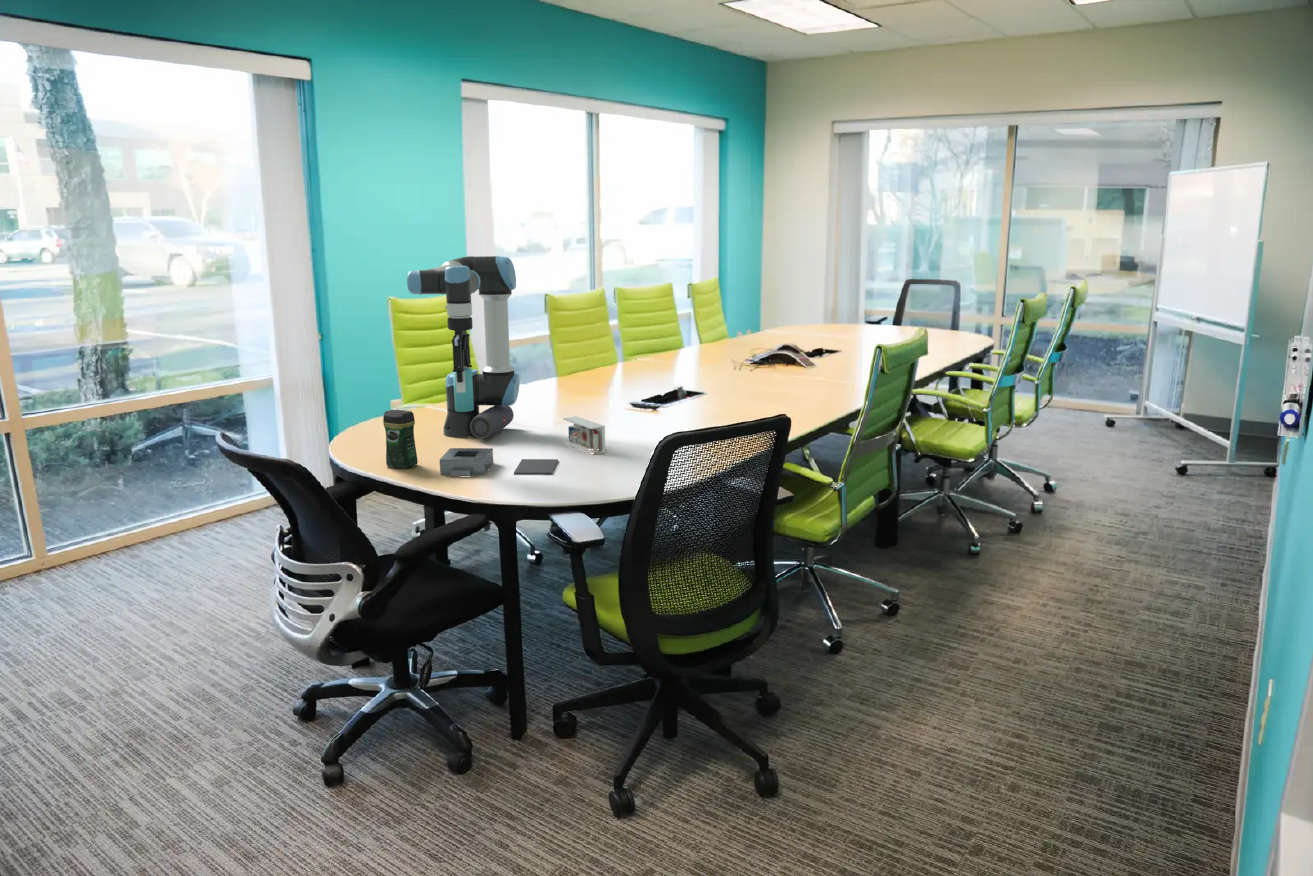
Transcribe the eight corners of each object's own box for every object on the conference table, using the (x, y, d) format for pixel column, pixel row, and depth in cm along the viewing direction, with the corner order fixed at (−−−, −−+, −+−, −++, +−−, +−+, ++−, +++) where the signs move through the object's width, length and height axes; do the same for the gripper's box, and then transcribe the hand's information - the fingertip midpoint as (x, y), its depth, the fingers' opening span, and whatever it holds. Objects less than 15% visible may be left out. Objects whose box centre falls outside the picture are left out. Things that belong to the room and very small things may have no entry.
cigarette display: (563, 443, 329) (562, 418, 327) (576, 441, 333) (576, 416, 330) (593, 455, 314) (593, 428, 312) (607, 453, 317) (606, 426, 315)
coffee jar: (422, 464, 302) (418, 409, 298) (406, 470, 295) (402, 414, 291) (398, 461, 306) (394, 406, 302) (382, 467, 299) (378, 411, 295)
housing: (452, 460, 307) (451, 446, 306) (494, 461, 306) (494, 446, 305) (438, 476, 288) (437, 461, 287) (483, 477, 288) (482, 461, 287)
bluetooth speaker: (492, 443, 330) (492, 415, 328) (468, 440, 332) (468, 413, 330) (515, 428, 352) (515, 403, 349) (492, 426, 354) (492, 401, 351)
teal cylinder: (457, 407, 296) (455, 365, 292) (475, 408, 296) (473, 365, 292) (453, 411, 290) (450, 368, 287) (471, 411, 290) (469, 368, 287)
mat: (522, 460, 307) (522, 459, 307) (558, 461, 307) (558, 459, 306) (513, 474, 291) (513, 472, 291) (551, 474, 291) (551, 472, 291)
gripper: (454, 313, 295) (458, 384, 300) (440, 320, 277) (444, 396, 282) (478, 313, 295) (481, 384, 300) (465, 320, 276) (468, 396, 282)
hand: (463, 390), depth 291 cm, fingers closed on teal cylinder, 6 cm apart
